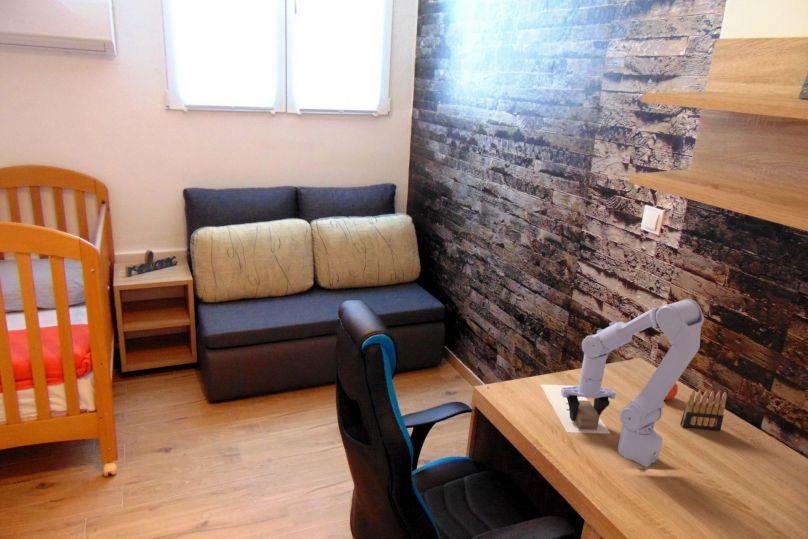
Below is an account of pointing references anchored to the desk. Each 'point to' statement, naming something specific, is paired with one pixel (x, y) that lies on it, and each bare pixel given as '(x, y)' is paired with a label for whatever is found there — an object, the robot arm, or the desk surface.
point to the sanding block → (586, 417)
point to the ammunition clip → (704, 412)
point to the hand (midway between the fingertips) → (583, 419)
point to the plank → (567, 409)
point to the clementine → (672, 392)
